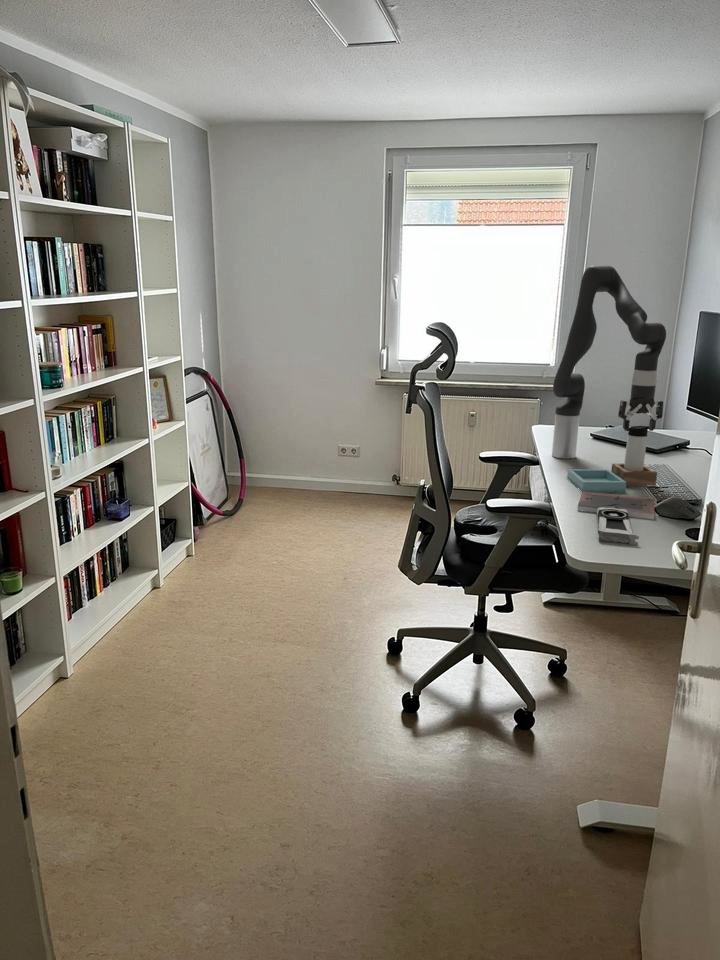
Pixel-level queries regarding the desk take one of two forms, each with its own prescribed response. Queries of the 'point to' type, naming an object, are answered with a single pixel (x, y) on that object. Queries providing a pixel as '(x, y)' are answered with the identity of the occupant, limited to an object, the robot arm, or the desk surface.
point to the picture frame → (617, 504)
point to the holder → (635, 475)
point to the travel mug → (636, 448)
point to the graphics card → (615, 525)
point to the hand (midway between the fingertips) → (638, 430)
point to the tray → (596, 481)
